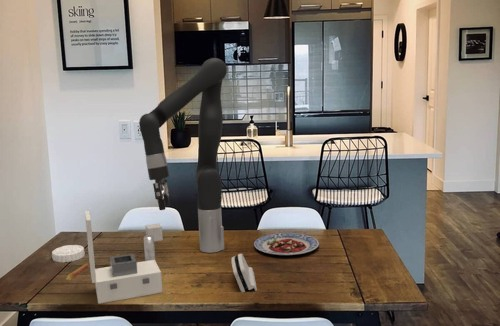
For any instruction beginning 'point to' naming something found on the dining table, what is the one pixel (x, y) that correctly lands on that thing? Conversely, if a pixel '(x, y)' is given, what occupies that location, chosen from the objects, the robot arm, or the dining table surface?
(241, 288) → the white rounded block
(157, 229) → the grey cube
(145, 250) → the rod
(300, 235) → the ceramic plate
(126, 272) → the socket
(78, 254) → the mooncake
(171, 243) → the dining table surface
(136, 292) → the white fixture base
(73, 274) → the chocolate bar
